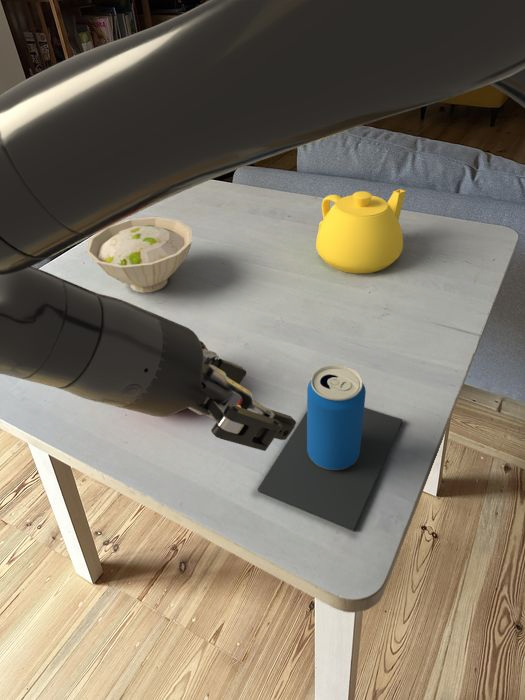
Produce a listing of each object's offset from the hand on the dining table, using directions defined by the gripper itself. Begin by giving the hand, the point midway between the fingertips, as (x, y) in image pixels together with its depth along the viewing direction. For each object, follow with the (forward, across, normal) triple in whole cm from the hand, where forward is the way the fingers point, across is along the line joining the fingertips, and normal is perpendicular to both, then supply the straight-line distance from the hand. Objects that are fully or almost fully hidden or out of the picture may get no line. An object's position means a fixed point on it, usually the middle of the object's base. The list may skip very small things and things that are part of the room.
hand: (263, 402), depth 52 cm
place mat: (+19, +1, +4) cm, 20 cm away
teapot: (+46, +39, -22) cm, 64 cm away
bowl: (+18, +54, +6) cm, 57 cm away
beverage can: (+19, +1, +4) cm, 19 cm away
